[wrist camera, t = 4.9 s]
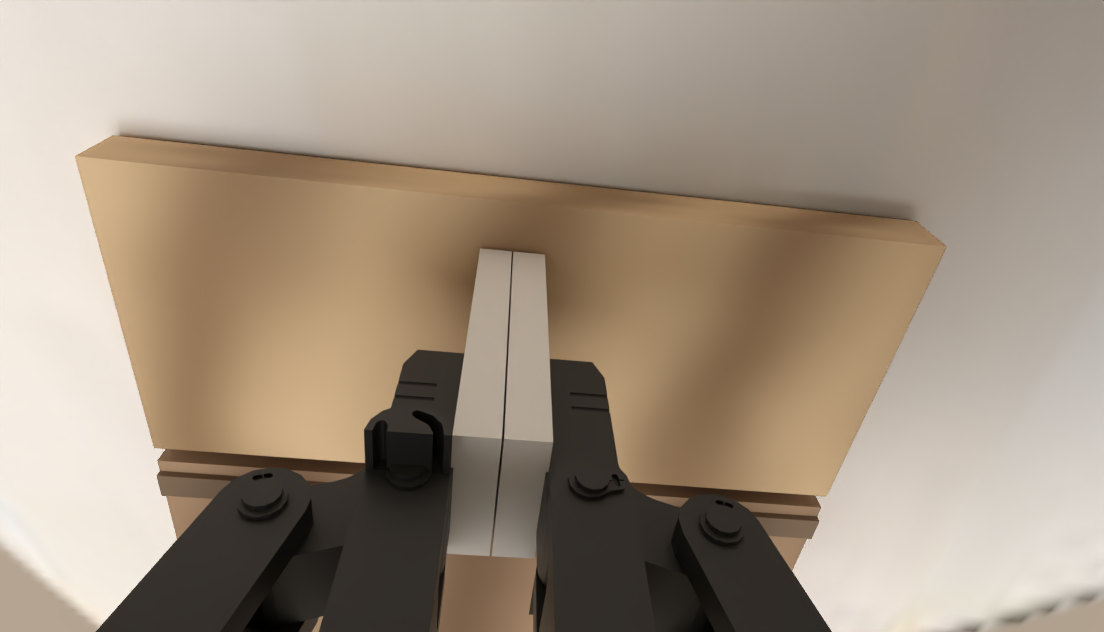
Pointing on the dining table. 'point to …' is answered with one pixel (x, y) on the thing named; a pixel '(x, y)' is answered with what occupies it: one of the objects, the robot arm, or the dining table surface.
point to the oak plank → (447, 291)
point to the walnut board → (470, 580)
